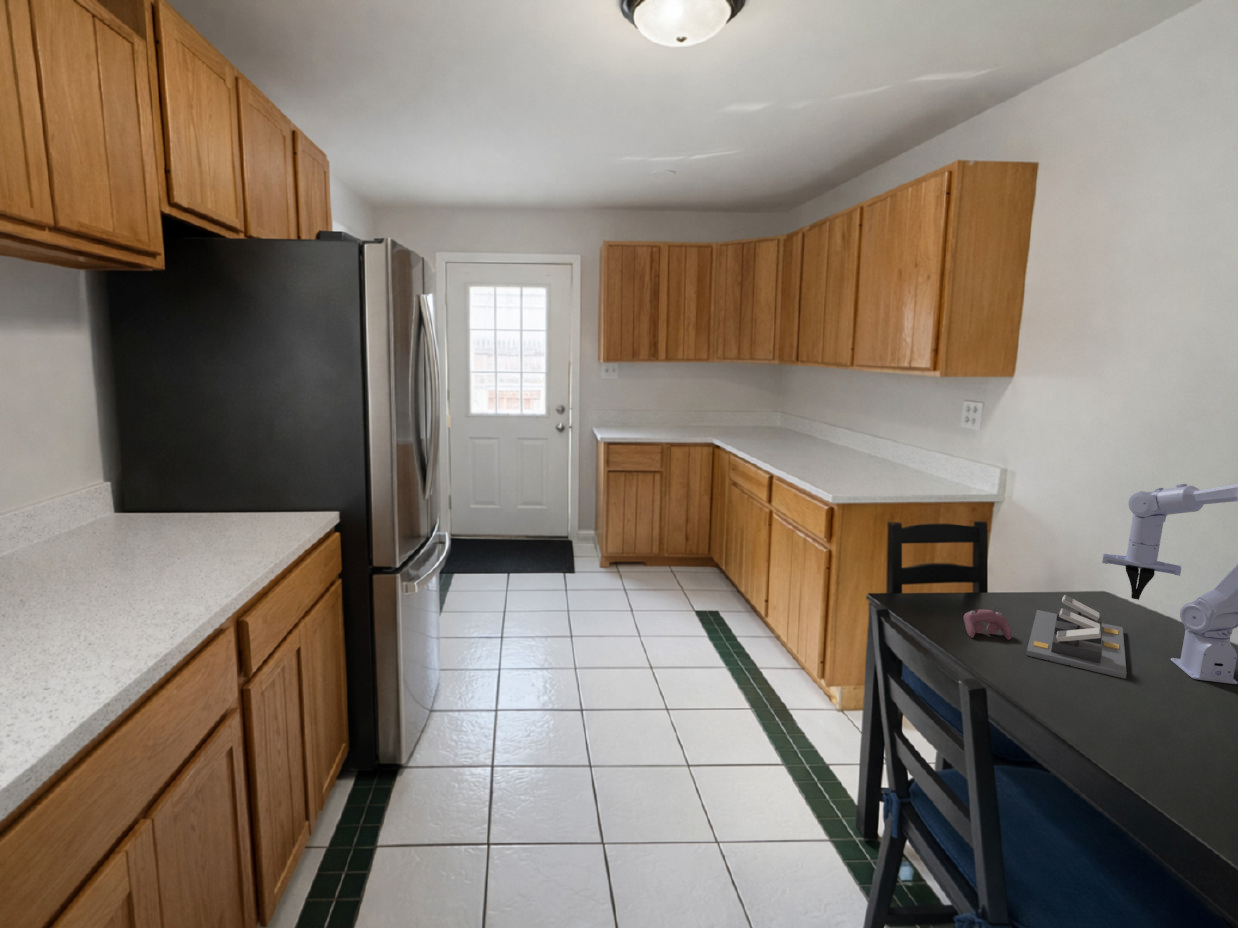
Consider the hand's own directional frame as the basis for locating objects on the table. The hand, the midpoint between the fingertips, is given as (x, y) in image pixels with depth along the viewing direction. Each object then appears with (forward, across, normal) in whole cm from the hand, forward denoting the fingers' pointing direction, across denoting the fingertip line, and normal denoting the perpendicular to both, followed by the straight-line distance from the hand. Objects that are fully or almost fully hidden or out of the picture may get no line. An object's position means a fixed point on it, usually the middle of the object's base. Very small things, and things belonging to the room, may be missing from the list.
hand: (1135, 598), depth 161 cm
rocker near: (+5, +10, +20) cm, 23 cm away
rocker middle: (+5, +10, +10) cm, 15 cm away
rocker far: (+5, +10, 0) cm, 11 cm away
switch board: (+10, +10, +10) cm, 18 cm away
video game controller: (+11, +28, +18) cm, 35 cm away
